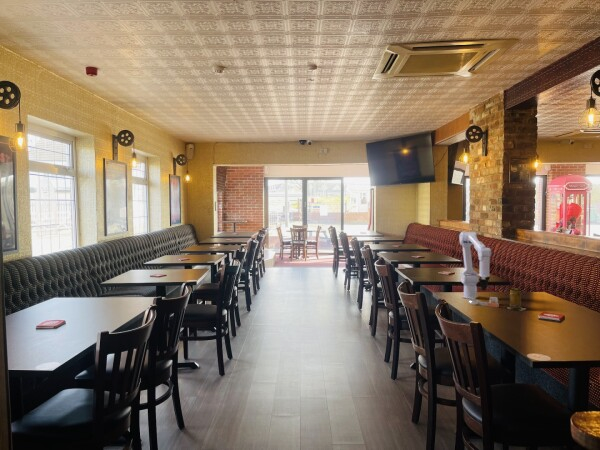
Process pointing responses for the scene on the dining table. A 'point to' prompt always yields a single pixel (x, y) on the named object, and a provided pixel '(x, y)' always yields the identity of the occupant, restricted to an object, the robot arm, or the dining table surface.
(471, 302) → the metal scoop
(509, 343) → the dining table surface
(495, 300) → the brushed metal cube
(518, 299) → the condiment
